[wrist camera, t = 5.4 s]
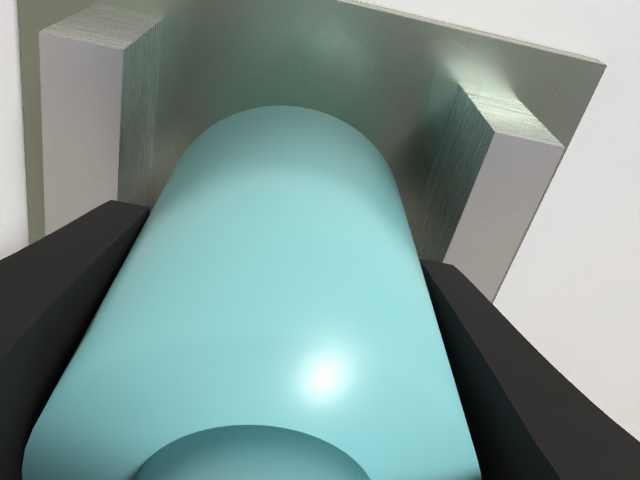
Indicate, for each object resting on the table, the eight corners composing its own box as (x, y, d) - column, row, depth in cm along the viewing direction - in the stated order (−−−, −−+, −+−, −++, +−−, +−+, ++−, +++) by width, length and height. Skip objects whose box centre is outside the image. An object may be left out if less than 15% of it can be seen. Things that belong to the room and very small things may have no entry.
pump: (437, 145, 10) (610, 481, 4) (357, 332, 12) (397, 731, 6) (189, 73, 9) (-26, 352, 3) (151, 284, 11) (-23, 680, 6)
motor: (595, 59, 11) (862, 216, 6) (386, 505, 19) (416, 759, 13) (26, -79, 10) (-332, -47, 5) (47, 459, 18) (-77, 718, 12)
